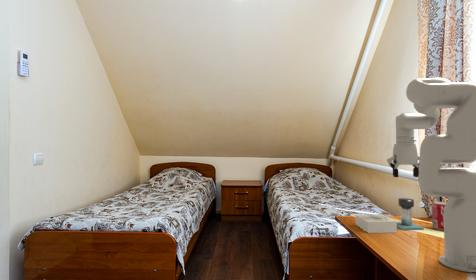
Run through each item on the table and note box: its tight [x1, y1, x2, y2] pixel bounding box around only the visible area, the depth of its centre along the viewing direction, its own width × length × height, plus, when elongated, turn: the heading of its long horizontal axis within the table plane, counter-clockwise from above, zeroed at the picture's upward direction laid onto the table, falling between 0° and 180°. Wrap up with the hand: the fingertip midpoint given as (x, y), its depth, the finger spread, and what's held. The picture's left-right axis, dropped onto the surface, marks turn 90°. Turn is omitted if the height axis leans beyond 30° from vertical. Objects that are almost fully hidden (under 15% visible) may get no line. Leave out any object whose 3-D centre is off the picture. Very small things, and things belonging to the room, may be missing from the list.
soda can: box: [431, 201, 447, 231], centre depth 137 cm, size 7×7×12 cm
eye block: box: [355, 213, 398, 234], centre depth 138 cm, size 13×13×5 cm
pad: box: [397, 221, 425, 231], centre depth 141 cm, size 10×10×1 cm
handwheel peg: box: [398, 197, 415, 226], centre depth 141 cm, size 6×6×12 cm
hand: (405, 177), depth 140 cm, fingers open, 9 cm apart
